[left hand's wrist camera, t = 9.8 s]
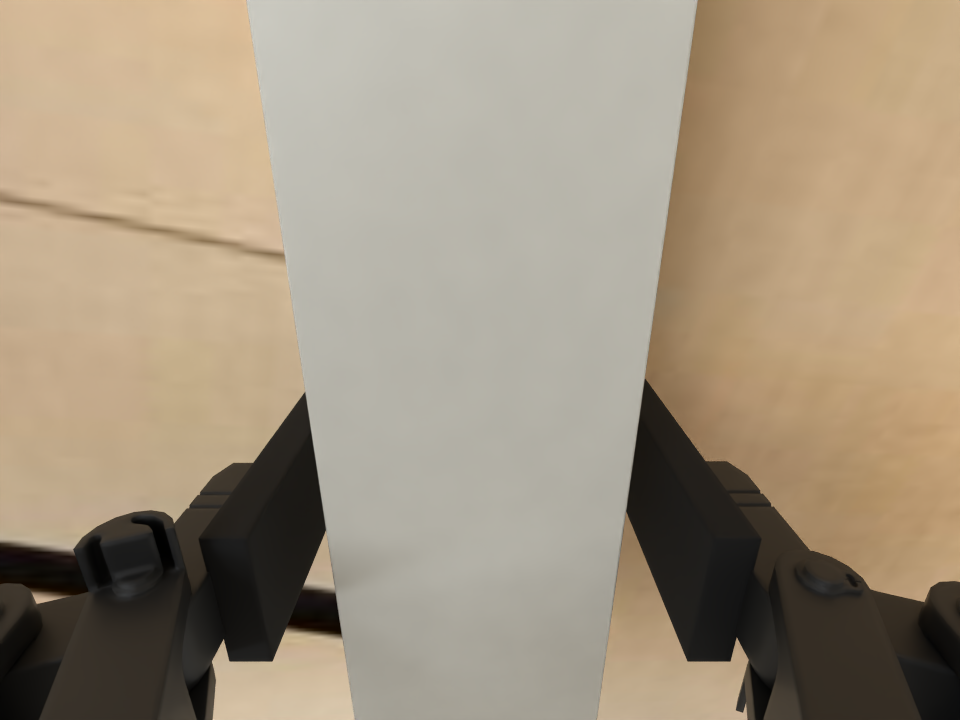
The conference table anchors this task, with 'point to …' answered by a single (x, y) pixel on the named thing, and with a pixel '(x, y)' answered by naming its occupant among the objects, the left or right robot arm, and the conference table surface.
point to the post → (473, 323)
